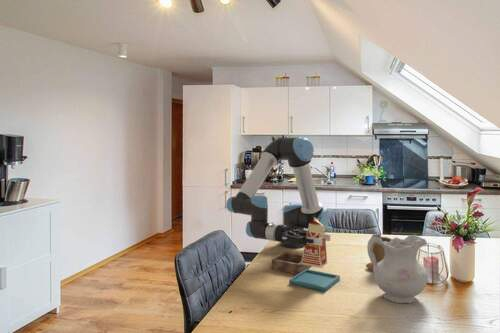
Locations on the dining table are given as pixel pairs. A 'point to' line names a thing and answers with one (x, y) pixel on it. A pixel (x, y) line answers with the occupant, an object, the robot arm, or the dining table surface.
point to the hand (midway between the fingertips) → (325, 240)
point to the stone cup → (378, 252)
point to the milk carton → (315, 246)
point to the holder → (289, 263)
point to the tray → (314, 280)
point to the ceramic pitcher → (399, 268)
